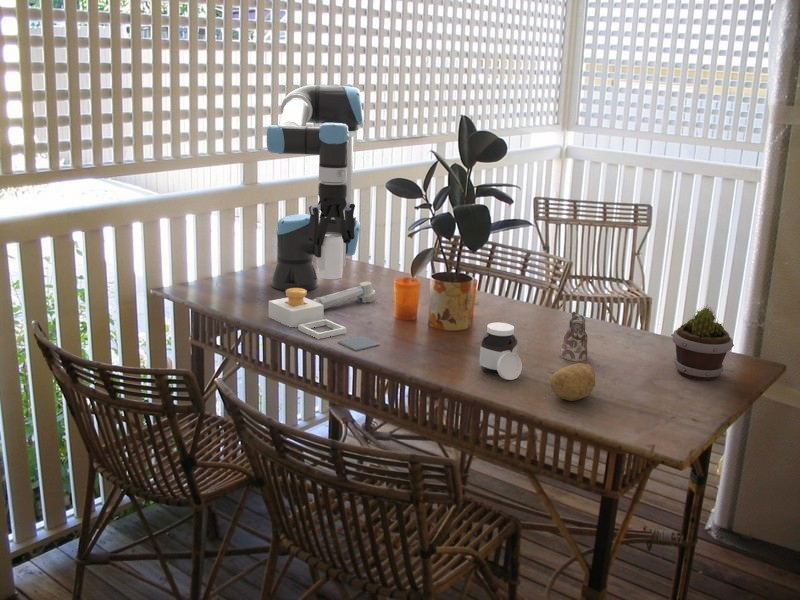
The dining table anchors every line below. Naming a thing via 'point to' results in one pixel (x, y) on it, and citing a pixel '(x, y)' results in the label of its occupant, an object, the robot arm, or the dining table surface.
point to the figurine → (575, 340)
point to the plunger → (296, 296)
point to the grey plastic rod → (348, 295)
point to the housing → (303, 317)
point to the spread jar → (500, 351)
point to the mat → (358, 343)
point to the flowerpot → (701, 346)
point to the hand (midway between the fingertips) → (331, 266)
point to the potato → (573, 381)
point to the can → (332, 256)
